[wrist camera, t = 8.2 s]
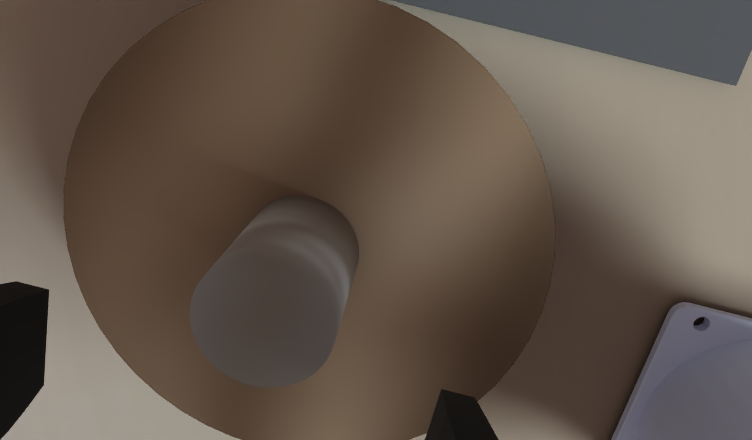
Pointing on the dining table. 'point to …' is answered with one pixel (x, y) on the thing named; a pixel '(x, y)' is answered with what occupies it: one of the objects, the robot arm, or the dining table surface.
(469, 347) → the lid
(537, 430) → the dining table surface
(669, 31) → the mat
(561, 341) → the dining table surface
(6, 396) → the robot arm
